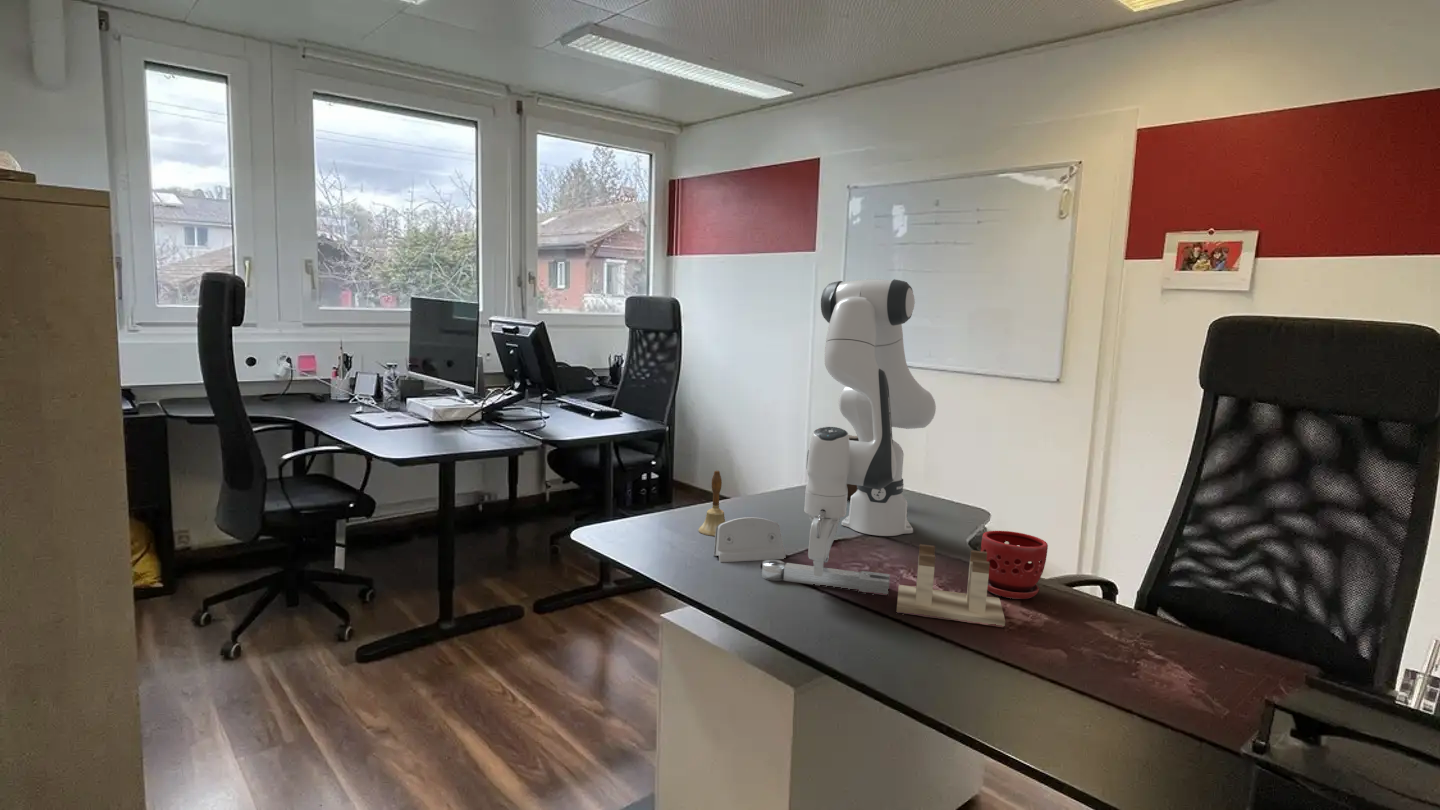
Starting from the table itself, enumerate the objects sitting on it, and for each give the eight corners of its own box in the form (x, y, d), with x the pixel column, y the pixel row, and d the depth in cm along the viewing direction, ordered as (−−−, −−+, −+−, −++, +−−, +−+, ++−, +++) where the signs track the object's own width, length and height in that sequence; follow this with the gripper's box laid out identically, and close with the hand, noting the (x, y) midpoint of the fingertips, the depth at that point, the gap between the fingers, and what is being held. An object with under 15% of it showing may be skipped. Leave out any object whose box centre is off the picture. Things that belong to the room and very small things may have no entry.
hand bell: (734, 535, 196) (737, 474, 194) (702, 536, 194) (705, 474, 192) (726, 526, 204) (728, 466, 202) (695, 527, 202) (697, 467, 200)
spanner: (759, 579, 166) (760, 565, 166) (764, 571, 171) (765, 558, 171) (887, 596, 160) (888, 581, 159) (888, 587, 164) (889, 573, 164)
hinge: (718, 562, 176) (716, 517, 178) (713, 562, 180) (711, 519, 182) (787, 558, 180) (784, 515, 182) (780, 558, 185) (777, 516, 187)
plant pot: (1049, 606, 158) (1055, 550, 156) (982, 599, 160) (987, 543, 159) (1035, 584, 171) (1040, 531, 169) (973, 577, 173) (978, 525, 171)
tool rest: (898, 591, 162) (902, 538, 161) (998, 605, 158) (1003, 550, 156) (896, 613, 151) (900, 556, 149) (1004, 628, 146) (1010, 570, 144)
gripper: (835, 519, 152) (830, 586, 154) (845, 495, 172) (841, 556, 174) (803, 515, 154) (798, 582, 155) (817, 492, 173) (813, 552, 175)
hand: (821, 568), depth 165 cm, fingers open, 8 cm apart
